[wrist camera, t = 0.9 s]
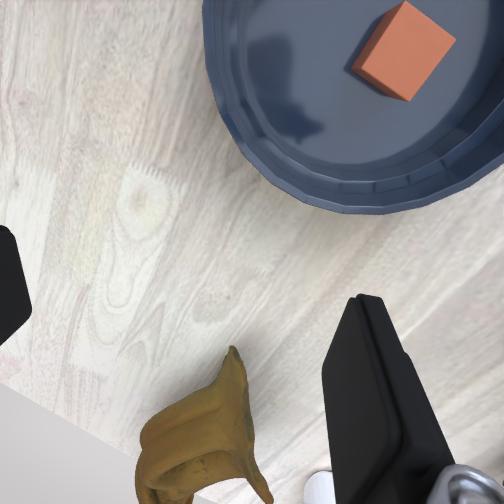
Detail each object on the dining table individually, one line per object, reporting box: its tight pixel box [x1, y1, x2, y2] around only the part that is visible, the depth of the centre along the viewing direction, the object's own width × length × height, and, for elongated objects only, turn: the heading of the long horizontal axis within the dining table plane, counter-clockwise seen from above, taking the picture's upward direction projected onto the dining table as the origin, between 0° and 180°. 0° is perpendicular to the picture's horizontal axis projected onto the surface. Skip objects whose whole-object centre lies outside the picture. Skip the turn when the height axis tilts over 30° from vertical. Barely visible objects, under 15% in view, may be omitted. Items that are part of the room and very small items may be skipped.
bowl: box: [202, 0, 504, 215], centre depth 18 cm, size 19×19×6 cm
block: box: [351, 1, 456, 102], centre depth 19 cm, size 4×4×4 cm
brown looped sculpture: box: [135, 345, 274, 504], centre depth 35 cm, size 18×13×22 cm
